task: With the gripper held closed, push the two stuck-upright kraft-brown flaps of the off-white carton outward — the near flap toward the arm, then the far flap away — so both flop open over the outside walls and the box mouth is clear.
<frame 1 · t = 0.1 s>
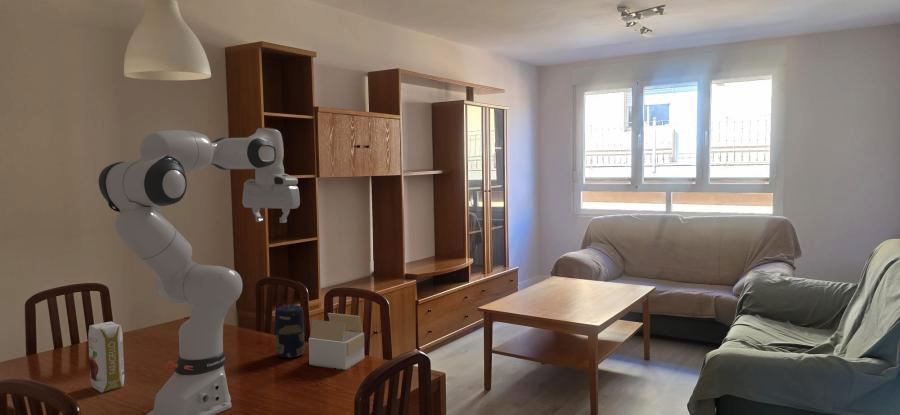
hand: (271, 222, 187), 48 cm above the table, fingers open, 8 cm apart
canister: (290, 355, 202), on the table
flap near: (327, 330, 190), point 12 cm above the table, hinge at 72.0°
juice carton: (108, 387, 174), on the table
flap far: (345, 322, 200), point 12 cm above the table, hinge at 72.0°
carton: (337, 361, 195), on the table
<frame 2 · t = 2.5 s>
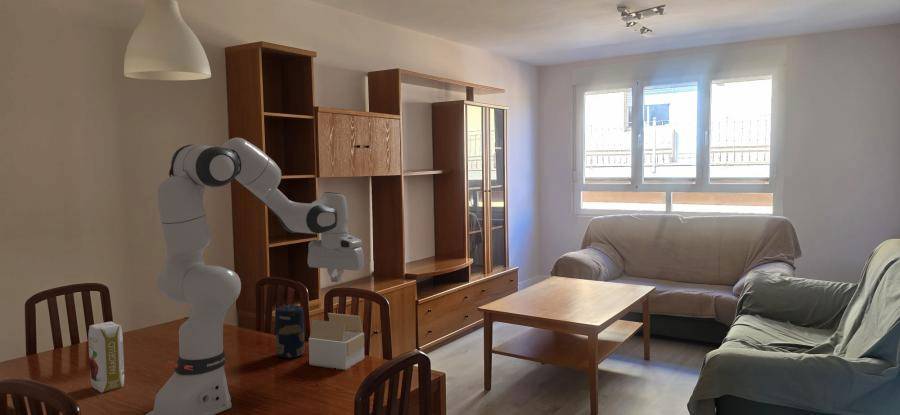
hand: (335, 281, 194), 27 cm above the table, fingers closed
nothing on the table moved.
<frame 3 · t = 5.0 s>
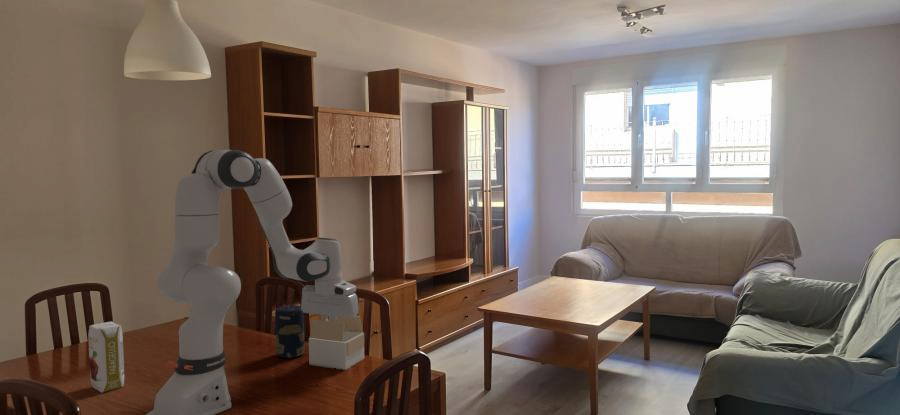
hand: (330, 327, 191), 13 cm above the table, fingers closed, pressing on flap near
flap near: (327, 330, 189), point 12 cm above the table, hinge at 77.2°, touching gripper
everything else where it was.
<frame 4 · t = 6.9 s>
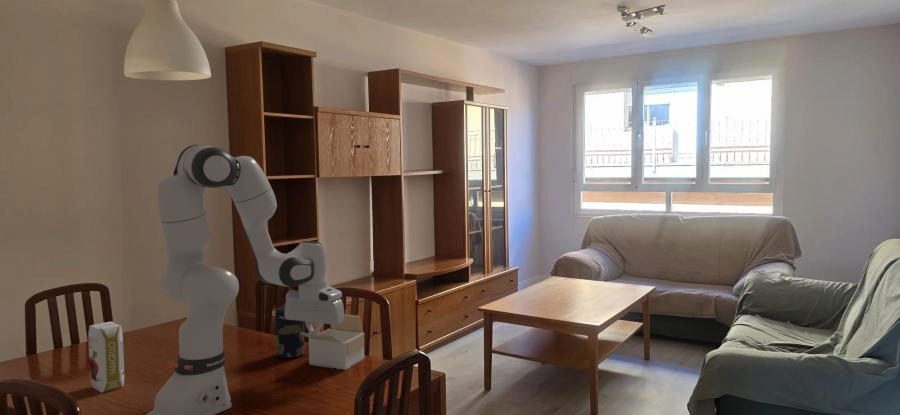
hand: (314, 335, 183), 13 cm above the table, fingers closed
flap near: (321, 337, 186), point 11 cm above the table, hinge at 149.3°
everything else where it was.
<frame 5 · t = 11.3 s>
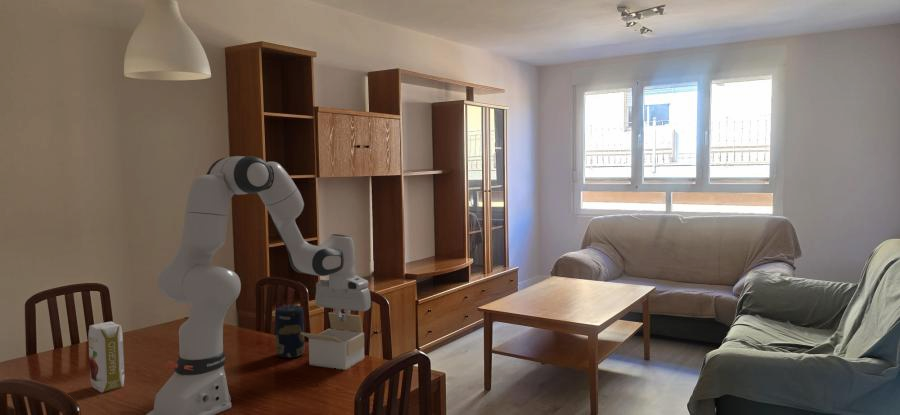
hand: (342, 321, 198), 13 cm above the table, fingers closed, pressing on flap far
flap far: (345, 322, 200), point 12 cm above the table, hinge at 75.3°, touching gripper
everything else where it was.
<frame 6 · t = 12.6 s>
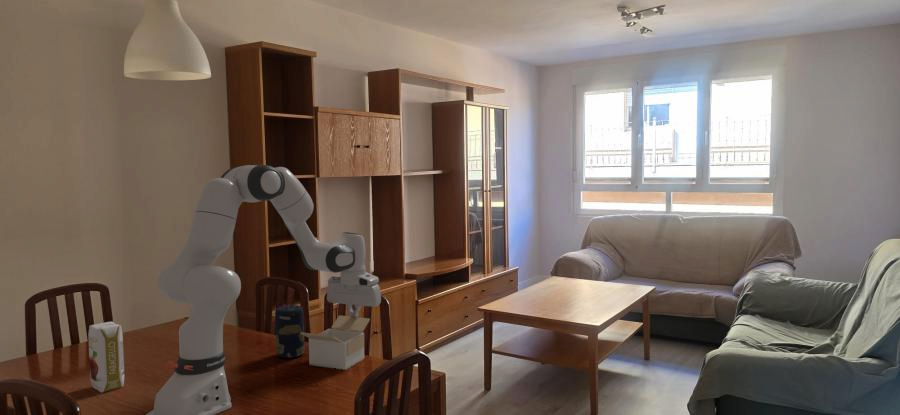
hand: (353, 316, 205), 13 cm above the table, fingers closed
flap far: (350, 323, 203), point 11 cm above the table, hinge at 149.7°
everything else where it was.
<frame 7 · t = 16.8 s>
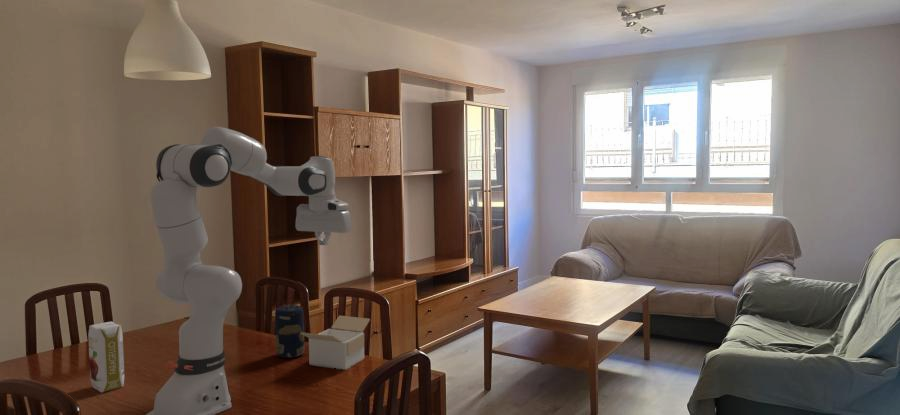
hand: (323, 245, 197), 39 cm above the table, fingers closed
flap far: (350, 323, 203), point 11 cm above the table, hinge at 150.4°
everything else where it was.
at the end: flap near at +149° (first picture: +72°); flap far at +150° (first picture: +72°) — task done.
